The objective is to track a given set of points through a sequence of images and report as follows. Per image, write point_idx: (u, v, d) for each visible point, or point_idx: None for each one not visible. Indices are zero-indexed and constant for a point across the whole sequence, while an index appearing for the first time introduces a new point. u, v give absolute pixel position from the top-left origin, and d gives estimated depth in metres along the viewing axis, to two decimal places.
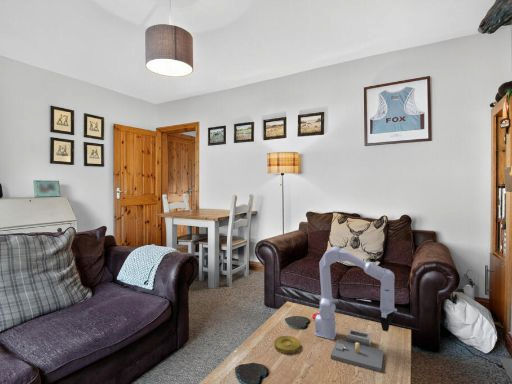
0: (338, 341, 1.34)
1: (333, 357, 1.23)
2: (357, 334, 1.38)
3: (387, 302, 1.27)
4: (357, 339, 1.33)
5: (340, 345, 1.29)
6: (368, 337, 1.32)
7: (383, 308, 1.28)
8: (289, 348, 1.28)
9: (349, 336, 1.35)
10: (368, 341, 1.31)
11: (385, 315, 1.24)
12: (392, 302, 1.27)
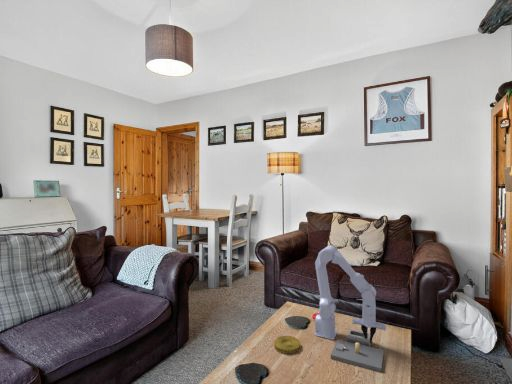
0: (338, 341, 1.34)
1: (333, 357, 1.23)
2: (357, 334, 1.38)
3: (362, 314, 1.34)
4: (357, 339, 1.33)
5: (340, 345, 1.29)
6: (368, 337, 1.32)
7: None
8: (289, 348, 1.28)
9: (349, 336, 1.35)
10: (368, 341, 1.31)
11: None
12: (365, 316, 1.32)
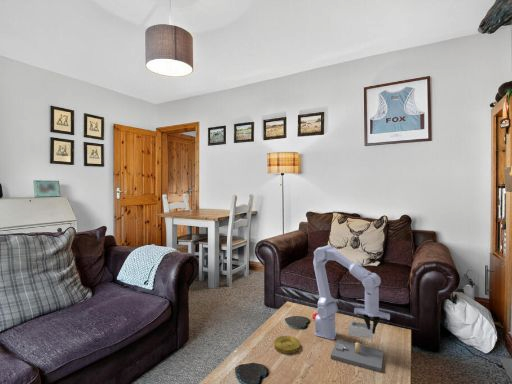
0: (338, 341, 1.34)
1: (333, 357, 1.23)
2: (359, 325, 1.31)
3: (365, 303, 1.27)
4: (359, 330, 1.26)
5: (340, 345, 1.29)
6: (371, 327, 1.26)
7: None
8: (289, 348, 1.28)
9: (351, 327, 1.28)
10: (371, 332, 1.24)
11: (354, 310, 1.29)
12: (367, 305, 1.25)
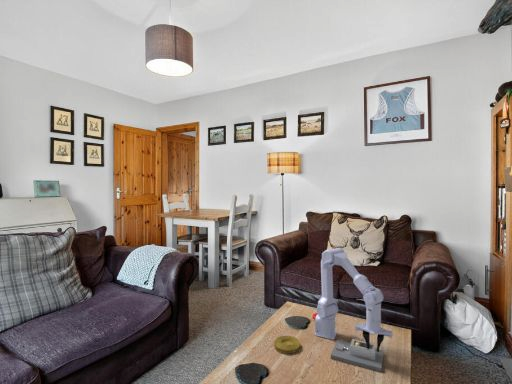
0: (338, 341, 1.34)
1: (333, 357, 1.23)
2: (361, 345, 1.26)
3: (366, 320, 1.22)
4: (361, 351, 1.21)
5: (340, 345, 1.29)
6: (373, 348, 1.21)
7: None
8: (289, 348, 1.28)
9: (352, 347, 1.23)
10: (373, 353, 1.19)
11: None
12: (369, 322, 1.20)
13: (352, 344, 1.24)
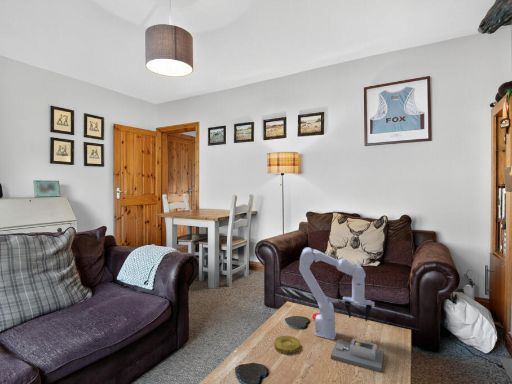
0: (338, 341, 1.34)
1: (333, 357, 1.23)
2: (361, 345, 1.26)
3: None
4: (361, 351, 1.21)
5: (340, 345, 1.29)
6: (373, 348, 1.21)
7: None
8: (289, 348, 1.28)
9: (352, 347, 1.23)
10: (373, 353, 1.19)
11: None
12: (354, 294, 1.38)
13: (352, 344, 1.24)
